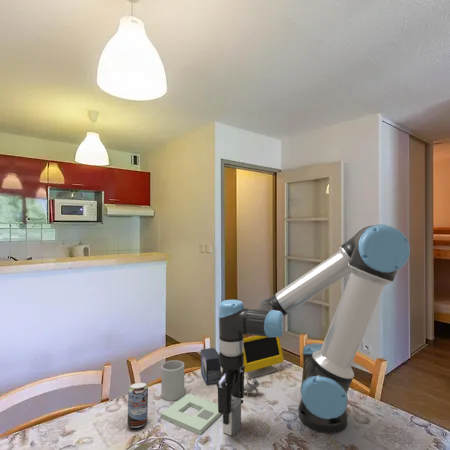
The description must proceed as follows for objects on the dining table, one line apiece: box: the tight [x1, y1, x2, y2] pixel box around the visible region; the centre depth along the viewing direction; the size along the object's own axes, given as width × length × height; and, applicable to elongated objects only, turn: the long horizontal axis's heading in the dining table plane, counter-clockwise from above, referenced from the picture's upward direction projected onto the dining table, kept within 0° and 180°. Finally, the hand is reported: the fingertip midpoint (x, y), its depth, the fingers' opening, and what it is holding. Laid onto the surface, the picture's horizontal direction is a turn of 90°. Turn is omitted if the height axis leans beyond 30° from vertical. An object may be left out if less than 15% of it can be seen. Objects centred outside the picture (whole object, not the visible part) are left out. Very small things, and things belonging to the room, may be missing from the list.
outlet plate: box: [160, 393, 222, 436], centre depth 101 cm, size 16×14×2 cm
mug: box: [160, 359, 186, 402], centre depth 114 cm, size 12×8×11 cm
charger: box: [230, 396, 242, 437], centre depth 93 cm, size 4×4×9 cm
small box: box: [200, 347, 222, 386], centre depth 125 cm, size 11×6×10 cm, turn 17°
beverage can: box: [126, 382, 149, 429], centre depth 96 cm, size 6×7×12 cm
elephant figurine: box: [244, 378, 261, 398], centre depth 112 cm, size 10×6×9 cm
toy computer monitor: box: [243, 335, 285, 379], centre depth 131 cm, size 20×8×16 cm, turn 119°
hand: (231, 428), depth 93 cm, fingers closed on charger, 4 cm apart
